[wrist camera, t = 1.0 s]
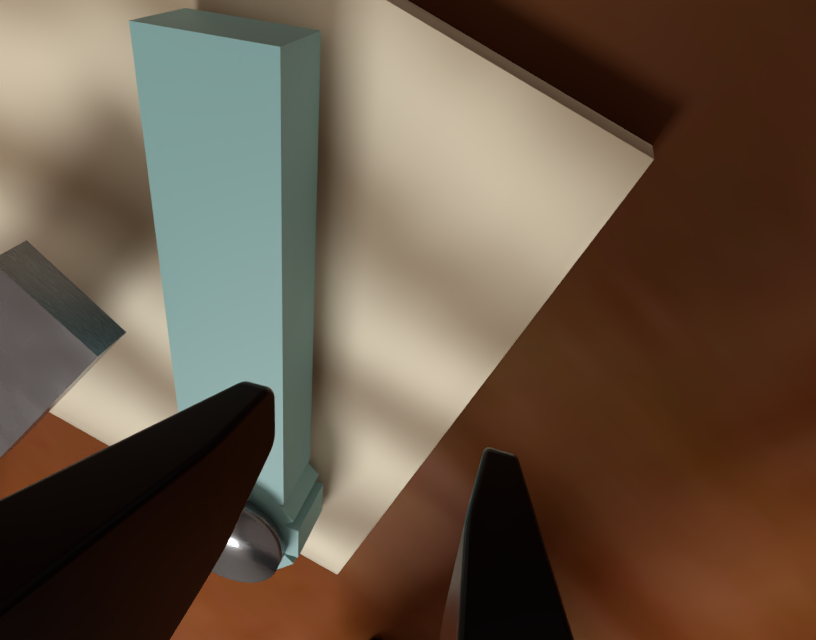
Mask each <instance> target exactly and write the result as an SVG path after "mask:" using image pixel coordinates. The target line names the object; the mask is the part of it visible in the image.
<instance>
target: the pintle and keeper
mask: <svg viewBox="0 0 816 640" xmlns="http://www.w3.org/2000/svg"><path fill="white" fill-rule="evenodd" d="M125 333H126V331H125V330H124V329H122V328H121V327H120V326H119V325H118V324H117V323H116V322H115V321H114V320H113V319H112V318H110V317H109V316H108V315H107V314H106V313H105V312H104V311H103V310H102V309H101V308H100V307H99V306H97V305H96V304H95V303H94V302H93V301H92V300H91V299H90V298H89V297H88V296H87V295H86V294H84V293H83V292H82V291H81V290H80V289H79V288H78V287H77V286H76V285H75V284H74V283H73V282H71V281H70V280H69V279H68V278H67V277H66V276H65V275H64V274H63V273H62V272H61V271H59V270H58V269H57V268H56V267H55V266H54V265H53V264H52V263H51V262H50V261H49V260H48V259H46V258H45V257H44V256H43V255H42V254H41V253H40V252H39V251H38V250H37V249H36V248H35V247H33V246H32V245H31V244H30V243H29V242H28V241H27V240H26V241H24V242H22V243H21V244H19V245H17V246H15V247H13V248H12V249H10V250H8V251H6V252H4V253H3V254H1V255H0V459H1V458H2V457H3V456H4V455H5V454H6V453H8V452H9V451H10V450H11V449H12V448H13V447H14V446H16V445H17V444H18V443H19V442H20V441H21V440H22V439H23V438H24V437H25V436H26V435H27V434H28V433H29V432H30V431H31V430H32V429H33V428H34V427H35V426H36V425H37V423H38V422H39V421H40V420H41V419H42V418H43V417H44V416H45V415H46V414H47V413H48V412H49V411H50V410H51V409H52V408H53V407H54V406H55V405H56V404H57V403H58V402H59V401H60V400H61V399H62V398H63V397H64V396H65V395H66V394H67V393H68V392H69V391H70V390H71V389H72V388H73V387H74V386H75V385H76V384H77V382H78V381H79V380H80V379H81V378H82V377H83V376H84V375H85V374H86V373H87V372H88V371H89V370H90V369H91V368H92V367H93V366H94V365H95V364H96V363H97V362H98V361H99V360H100V359H101V358H102V357H103V356H104V355H105V354H106V353H107V352H108V351H109V350H110V349H111V348H112V347H113V346H114V345H115V344H116V342H117V341H118V340H119V339H120V338H121V337H122V336H123V335H124V334H125ZM284 554H285V542H284V538H283V536H282V533H281V531H280V530H279V528H278V526H277V525H276V524H275V522H274V521H273V520H272V519H271V518H270V517H269V516H268V515H267V514H266V513H265V512H264V511H263V510H262V509H260V508H259V507H258V506H256V505H255V504H253V503H252V502H250V501H247V503H246V505H245V507H244V509H243V512H242V514H241V516H240V518H239V520H238V522H237V524H236V527H235V529H234V531H233V533H232V535H231V537H230V539H229V541H228V543H227V545H226V547H225V549H224V551H223V553H222V554H221V556H220V558H219V560H218V561H217V563H216V565H215V566H214V568H213V570H212V572H214V573H216V574H218V575H220V576H222V577H225V578H228V579H231V580H235V581H239V582H249V583H252V582H260V581H264V580H266V579H268V578H270V577H271V576H272V575H273V574H274V573H275V572H276V570H277V568H278V566H279V564H280V563H281V561H282V559H283V557H284Z"/></svg>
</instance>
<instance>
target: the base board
mask: <svg viewBox="0 0 816 640" xmlns="http://www.w3.org/2000/svg"><path fill="white" fill-rule="evenodd" d="M182 8H189V9H195V10H201V11H207V12H213V13H219V14H225V15H231V16H237V17H243V18H249V19H255V20H261V21H267V22H273V23H279V24H285V25H291V26H297V27H303V28H309V29H315V30H321V49H320V89H319V129H318V169H317V208H316V248H315V288H314V328H313V368H312V407H311V447H310V460H309V462H308V463H309V464H310V465H311V466H312V467H313V468H314V469H315V470H316V472H317V473H318V474H319V476H318V477H317V479H316V482H319V483H322V484H323V504H322V511H321V513H320V515H319V517H318V519H317V521H316V523H315V525H314V527H313V529H312V531H311V533H310V535H309V537H308V539H307V541H306V543H305V545H304V547H303V549H302V551H301V553H300V554H302V555H304V556H305V557H307V558H309V559H311V560H312V561H314V562H316V563H318V564H319V565H321V566H323V567H325V568H327V569H328V570H330V571H332V572H334V573H335V574H338V573H339V572H340V571H341V569H342V568H343V567H344V565H345V564H346V563H347V561H348V560H349V559H350V557H351V556H352V555H353V553H354V552H355V551H356V550H357V548H358V547H359V546H360V544H361V543H362V542H363V540H364V539H365V538H366V536H367V535H368V534H369V532H370V531H371V530H372V529H373V527H374V526H375V525H376V523H377V522H378V521H379V519H380V518H381V517H382V515H383V514H384V513H385V512H386V510H387V509H388V508H389V506H390V505H391V504H392V502H393V501H394V500H395V498H396V497H397V496H398V494H399V493H400V492H401V491H402V489H403V488H404V487H405V485H406V484H407V483H408V481H409V480H410V479H411V477H412V476H413V475H414V474H415V472H416V471H417V470H418V468H419V467H420V466H421V464H422V463H423V462H424V460H425V459H426V458H427V456H428V455H429V454H430V453H431V451H432V450H433V449H434V447H435V446H436V445H437V443H438V442H439V441H440V439H441V438H442V437H443V435H444V434H445V433H446V432H447V430H448V429H449V428H450V426H451V425H452V424H453V422H454V421H455V420H456V418H457V417H458V416H459V415H460V413H461V412H462V411H463V409H464V408H465V407H466V405H467V404H468V403H469V401H470V400H471V399H472V397H473V396H474V395H475V394H476V392H477V391H478V390H479V388H480V387H481V386H482V384H483V383H484V382H485V380H486V379H487V378H488V376H489V375H490V374H491V373H492V371H493V370H494V369H495V367H496V366H497V365H498V363H499V362H500V361H501V359H502V358H503V357H504V356H505V354H506V353H507V352H508V350H509V349H510V348H511V346H512V345H513V344H514V342H515V341H516V340H517V338H518V337H519V336H520V335H521V333H522V332H523V331H524V329H525V328H526V327H527V325H528V324H529V323H530V321H531V320H532V319H533V317H534V316H535V315H536V314H537V312H538V311H539V310H540V308H541V307H542V306H543V304H544V303H545V302H546V300H547V299H548V298H549V297H550V295H551V294H552V293H553V291H554V290H555V289H556V287H557V286H558V285H559V283H560V282H561V281H562V279H563V278H564V277H565V276H566V274H567V273H568V272H569V270H570V269H571V268H572V266H573V265H574V264H575V262H576V261H577V260H578V258H579V257H580V256H581V255H582V253H583V252H584V251H585V249H586V248H587V247H588V245H589V244H590V243H591V241H592V240H593V239H594V238H595V236H596V235H597V234H598V232H599V231H600V230H601V228H602V227H603V226H604V224H605V223H606V222H607V220H608V219H609V218H610V217H611V215H612V214H613V213H614V211H615V210H616V209H617V207H618V206H619V205H620V203H621V202H622V201H623V199H624V198H625V197H626V196H627V194H628V193H629V192H630V190H631V189H632V188H633V186H634V185H635V184H636V182H637V181H638V180H639V179H640V177H641V176H642V175H643V173H644V172H645V171H646V169H647V168H648V167H649V165H650V164H651V163H652V161H653V160H654V154H653V146H652V145H650V144H649V143H647V142H645V141H644V140H642V139H640V138H639V137H637V136H635V135H634V134H632V133H630V132H629V131H627V130H625V129H624V128H622V127H620V126H619V125H617V124H615V123H613V122H612V121H610V120H608V119H607V118H605V117H603V116H602V115H600V114H598V113H597V112H595V111H593V110H592V109H590V108H588V107H587V106H585V105H583V104H582V103H580V102H578V101H576V100H575V99H573V98H571V97H570V96H568V95H566V94H565V93H563V92H561V91H560V90H558V89H556V88H555V87H553V86H551V85H550V84H548V83H546V82H545V81H543V80H541V79H539V78H538V77H536V76H534V75H533V74H531V73H529V72H528V71H526V70H524V69H523V68H521V67H519V66H518V65H516V64H514V63H513V62H511V61H509V60H508V59H506V58H504V57H502V56H501V55H499V54H497V53H496V52H494V51H492V50H491V49H489V48H487V47H486V46H484V45H482V44H481V43H479V42H477V41H476V40H474V39H472V38H471V37H469V36H467V35H465V34H464V33H462V32H460V31H459V30H457V29H455V28H454V27H452V26H450V25H449V24H447V23H445V22H444V21H442V20H440V19H439V18H437V17H435V16H434V15H432V14H430V13H429V12H427V11H425V10H423V9H422V8H420V7H418V6H417V5H415V4H413V3H412V2H410V1H408V0H0V255H1V254H3V253H4V252H6V251H8V250H10V249H12V248H13V247H15V246H17V245H19V244H21V243H22V242H24V241H26V240H27V241H28V242H29V243H30V244H31V245H32V246H33V247H35V248H36V249H37V250H38V251H39V252H40V253H41V254H42V255H43V256H44V257H45V258H46V259H48V260H49V261H50V262H51V263H52V264H53V265H54V266H55V267H56V268H57V269H58V270H59V271H61V272H62V273H63V274H64V275H65V276H66V277H67V278H68V279H69V280H70V281H71V282H73V283H74V284H75V285H76V286H77V287H78V288H79V289H80V290H81V291H82V292H83V293H84V294H86V295H87V296H88V297H89V298H90V299H91V300H92V301H93V302H94V303H95V304H96V305H97V306H99V307H100V308H101V309H102V310H103V311H104V312H105V313H106V314H107V315H108V316H109V317H110V318H112V319H113V320H114V321H115V322H116V323H117V324H118V325H119V326H120V327H121V328H122V329H124V330H125V331H126V333H125V334H124V335H123V336H122V337H121V338H120V339H119V340H118V341H117V342H116V344H115V345H114V346H113V347H112V348H111V349H110V350H109V351H108V352H107V353H106V354H105V355H104V356H103V357H102V358H101V359H100V360H99V361H98V362H97V363H96V364H95V365H94V366H93V367H92V368H91V369H90V370H89V371H88V372H87V373H86V374H85V375H84V376H83V377H82V378H81V379H80V380H79V381H78V382H77V384H76V385H75V386H74V387H73V388H72V389H71V390H70V391H69V392H68V393H67V394H66V395H65V396H64V397H63V398H62V399H61V400H60V401H59V402H58V403H57V404H56V405H55V406H54V407H53V408H52V409H51V410H50V411H49V412H50V413H52V414H54V415H56V416H58V417H59V418H61V419H63V420H65V421H66V422H68V423H70V424H72V425H73V426H75V427H77V428H79V429H81V430H82V431H84V432H86V433H88V434H89V435H91V436H93V437H95V438H96V439H98V440H100V441H102V442H104V443H105V444H107V445H109V446H111V445H113V444H115V443H117V442H119V441H121V440H123V439H125V438H127V437H129V436H131V435H133V434H135V433H137V432H140V431H142V430H144V429H146V428H148V427H150V426H152V425H154V424H156V423H158V422H160V421H162V420H164V419H166V418H168V417H170V416H172V415H174V414H176V413H178V407H177V399H176V391H175V383H174V375H173V367H172V359H171V351H170V343H169V336H168V328H167V320H166V312H165V304H164V296H163V288H162V280H161V272H160V264H159V256H158V248H157V240H156V232H155V224H154V216H153V208H152V200H151V192H150V185H149V177H148V169H147V161H146V153H145V145H144V137H143V129H142V121H141V113H140V105H139V97H138V89H137V81H136V73H135V65H134V57H133V49H132V42H131V34H130V26H129V20H134V19H138V18H142V17H147V16H151V15H156V14H160V13H165V12H169V11H173V10H178V9H182Z"/></svg>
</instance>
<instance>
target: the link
mask: <svg viewBox="0 0 816 640" xmlns="http://www.w3.org/2000/svg"><path fill="white" fill-rule="evenodd" d="M129 26H130V34H131V42H132V49H133V57H134V65H135V73H136V81H137V89H138V97H139V105H140V113H141V121H142V129H143V137H144V145H145V153H146V161H147V169H148V177H149V185H150V192H151V200H152V208H153V216H154V224H155V232H156V240H157V248H158V256H159V264H160V272H161V280H162V288H163V296H164V304H165V312H166V320H167V328H168V336H169V343H170V351H171V359H172V367H173V375H174V383H175V391H176V399H177V407H178V412H180V411H182V410H184V409H186V408H188V407H190V406H192V405H194V404H197V403H199V402H201V401H203V400H205V399H207V398H209V397H211V396H213V395H215V394H217V393H219V392H221V391H223V390H225V389H227V388H229V387H231V386H233V385H235V384H237V383H240V382H243V381H248V382H252V383H256V384H259V385H263V386H267V387H269V388H271V389H272V390H273V392H274V396H275V439H274V443H273V446H272V449H271V452H270V454H269V456H268V458H267V460H266V463H265V465H264V467H263V469H262V471H261V473H260V475H259V477H258V480H257V482H256V484H255V486H254V488H253V490H252V492H251V495H250V497H249V499H248V501H250V502H252V503H253V504H255V505H256V506H258V507H259V508H260V509H262V510H263V511H264V512H265V513H266V514H267V515H268V516H269V517H270V518H271V519H272V520H273V521H274V522H275V524H276V525H277V526H278V528H279V530H280V531H281V533H282V536H283V538H284V542H285V554H284V557H283V559H282V561H281V563H280V564H279V566H278V568H277V569H280V568H282V567H285V566H288V565H291V564H294V562H295V560H296V558H298V557H299V555H300V553H301V551H302V549H303V547H304V545H305V543H306V541H307V539H308V537H309V535H310V533H311V531H312V529H313V527H314V525H315V523H316V521H317V519H318V517H319V515H320V513H321V511H322V504H323V484H322V483H319V482H316V479H317V477H318V476H319V474H318V473H317V472H316V470H315V469H314V468H313V467H312V466H311V465H310V464H309V463H308V462H309V460H310V447H311V407H312V368H313V328H314V288H315V248H316V208H317V169H318V129H319V89H320V49H321V30H315V29H309V28H303V27H297V26H291V25H285V24H279V23H273V22H267V21H261V20H255V19H249V18H243V17H237V16H231V15H225V14H219V13H213V12H207V11H201V10H195V9H189V8H182V9H178V10H173V11H169V12H165V13H160V14H156V15H151V16H147V17H142V18H138V19H134V20H129Z"/></svg>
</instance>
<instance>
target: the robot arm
mask: <svg viewBox="0 0 816 640" xmlns="http://www.w3.org/2000/svg"><path fill="white" fill-rule="evenodd" d="M274 439H275V396H274V392H273V390H272V389H271V388H269V387H267V386H263V385H259V384H256V383H252V382H248V381H243V382H240V383H237V384H235V385H233V386H231V387H229V388H227V389H225V390H223V391H221V392H219V393H217V394H215V395H213V396H211V397H209V398H207V399H205V400H203V401H201V402H199V403H197V404H194V405H192V406H190V407H188V408H186V409H184V410H182V411H180V412H178V413H176V414H174V415H172V416H170V417H168V418H166V419H164V420H162V421H160V422H158V423H156V424H154V425H152V426H150V427H148V428H146V429H144V430H142V431H140V432H137V433H135V434H133V435H131V436H129V437H127V438H125V439H123V440H121V441H119V442H117V443H115V444H113V445H111V446H109V447H107V448H105V449H103V450H101V451H99V452H97V453H95V454H93V455H91V456H89V457H87V458H85V459H83V460H80V461H78V462H76V463H74V464H72V465H70V466H68V467H66V468H64V469H62V470H60V471H58V472H56V473H54V474H52V475H50V476H48V477H46V478H44V479H42V480H40V481H38V482H36V483H34V484H32V485H30V486H28V487H26V488H23V489H21V490H19V491H17V492H15V493H13V494H11V495H9V496H7V497H5V498H3V499H1V500H0V640H170V638H171V637H172V635H173V633H174V632H175V630H176V629H177V627H178V625H179V624H180V622H181V620H182V619H183V617H184V615H185V614H186V612H187V611H188V609H189V607H190V606H191V604H192V602H193V601H194V599H195V597H196V596H197V594H198V593H199V591H200V589H201V588H202V586H203V584H204V583H205V581H206V580H207V578H208V576H209V575H210V573H211V571H212V570H213V568H214V566H215V565H216V563H217V561H218V560H219V558H220V556H221V554H222V553H223V551H224V549H225V547H226V545H227V543H228V541H229V539H230V537H231V535H232V533H233V531H234V529H235V527H236V524H237V522H238V520H239V518H240V516H241V514H242V512H243V509H244V507H245V505H246V503H247V501H248V499H249V497H250V495H251V492H252V490H253V488H254V486H255V484H256V482H257V480H258V477H259V475H260V473H261V471H262V469H263V467H264V465H265V463H266V460H267V458H268V456H269V454H270V452H271V449H272V446H273V443H274ZM375 640H376V639H375ZM439 640H574V638H573V635H572V632H571V629H570V625H569V622H568V619H567V616H566V612H565V609H564V606H563V603H562V599H561V596H560V593H559V590H558V586H557V583H556V580H555V577H554V573H553V570H552V567H551V564H550V560H549V557H548V554H547V551H546V547H545V544H544V541H543V537H542V534H541V531H540V528H539V524H538V521H537V518H536V515H535V511H534V508H533V505H532V502H531V498H530V495H529V492H528V489H527V485H526V482H525V479H524V476H523V472H522V469H521V466H520V463H519V460H518V458H517V456H516V455H514V454H512V453H509V452H505V451H501V450H498V449H494V448H490V447H488V448H485V449H484V451H483V454H482V457H481V461H480V465H479V468H478V472H477V476H476V480H475V483H474V487H473V491H472V494H471V498H470V502H469V505H468V509H467V513H466V518H465V522H464V526H463V531H462V535H461V540H460V544H459V548H458V553H457V557H456V561H455V566H454V570H453V574H452V579H451V583H450V588H449V592H448V596H447V601H446V605H445V610H444V614H443V619H442V625H441V631H440V638H439Z"/></svg>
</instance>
